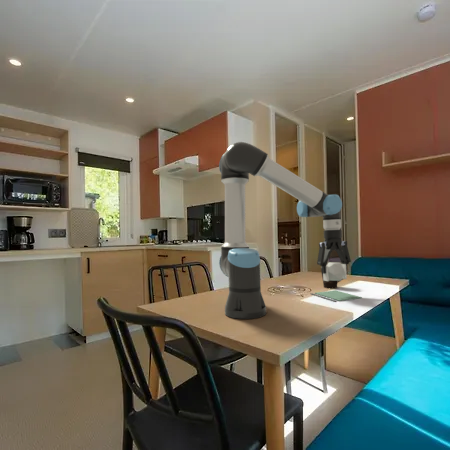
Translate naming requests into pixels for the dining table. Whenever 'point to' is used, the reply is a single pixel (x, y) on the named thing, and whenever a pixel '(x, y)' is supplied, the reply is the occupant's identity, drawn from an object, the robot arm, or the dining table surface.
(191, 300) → the dining table surface
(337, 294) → the mat
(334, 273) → the die
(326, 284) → the coffee mug
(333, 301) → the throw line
